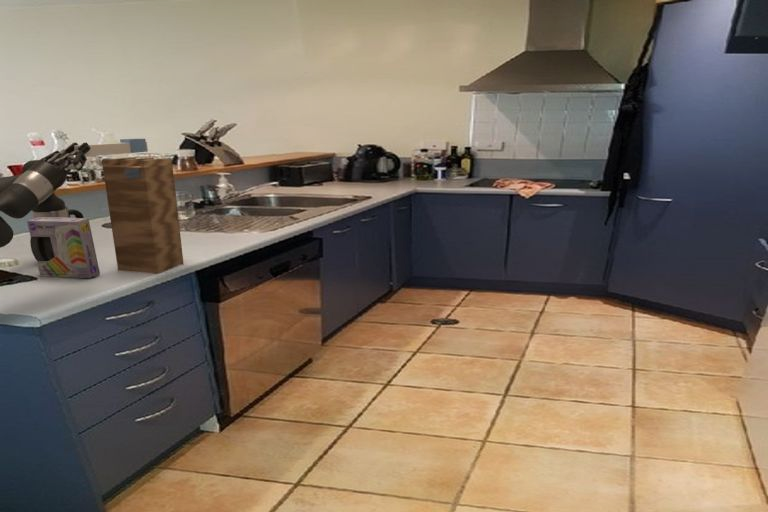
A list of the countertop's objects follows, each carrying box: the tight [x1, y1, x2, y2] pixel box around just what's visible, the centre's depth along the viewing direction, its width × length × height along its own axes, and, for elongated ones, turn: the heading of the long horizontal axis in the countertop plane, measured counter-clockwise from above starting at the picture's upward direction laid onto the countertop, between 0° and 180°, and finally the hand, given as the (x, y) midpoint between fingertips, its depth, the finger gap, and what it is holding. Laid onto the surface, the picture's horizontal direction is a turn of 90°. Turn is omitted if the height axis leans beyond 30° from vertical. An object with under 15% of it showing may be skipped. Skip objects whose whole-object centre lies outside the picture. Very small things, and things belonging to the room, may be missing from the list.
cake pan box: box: [26, 217, 101, 279], centre depth 151 cm, size 19×5×18 cm, turn 77°
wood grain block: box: [101, 156, 184, 275], centre depth 157 cm, size 13×15×34 cm
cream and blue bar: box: [74, 138, 149, 158], centre depth 148 cm, size 24×4×4 cm, turn 163°
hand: (82, 145), depth 138 cm, fingers closed on cream and blue bar, 3 cm apart
